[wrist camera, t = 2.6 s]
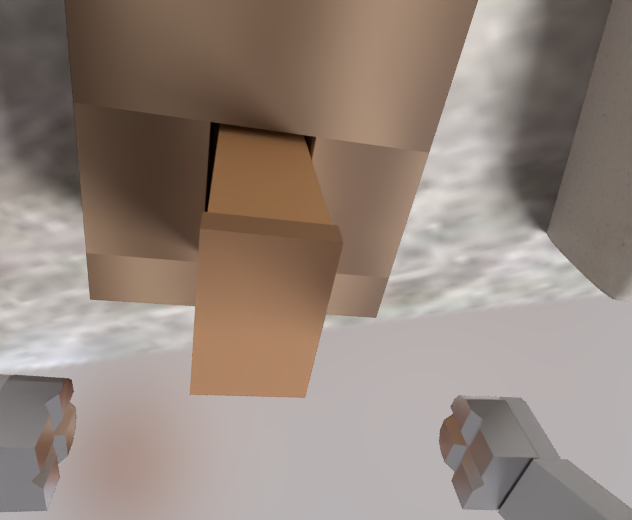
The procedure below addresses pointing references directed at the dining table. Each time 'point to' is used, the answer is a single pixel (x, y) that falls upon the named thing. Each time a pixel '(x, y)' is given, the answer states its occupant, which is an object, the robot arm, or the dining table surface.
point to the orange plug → (262, 268)
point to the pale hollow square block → (602, 168)
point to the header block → (252, 124)
